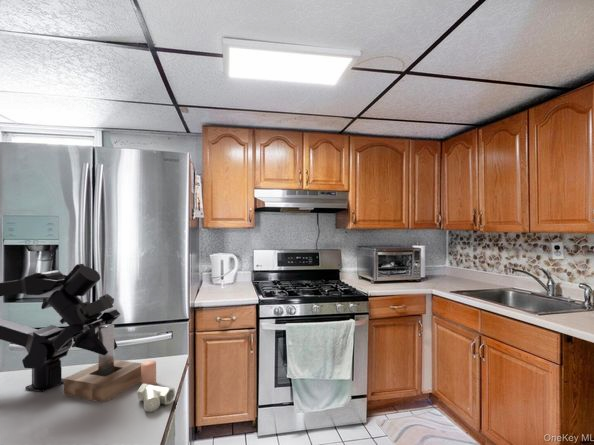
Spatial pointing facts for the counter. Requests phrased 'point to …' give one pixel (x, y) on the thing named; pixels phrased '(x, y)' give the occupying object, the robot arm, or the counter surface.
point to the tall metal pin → (108, 341)
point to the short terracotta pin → (148, 372)
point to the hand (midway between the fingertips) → (111, 351)
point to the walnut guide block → (102, 381)
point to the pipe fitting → (155, 396)
